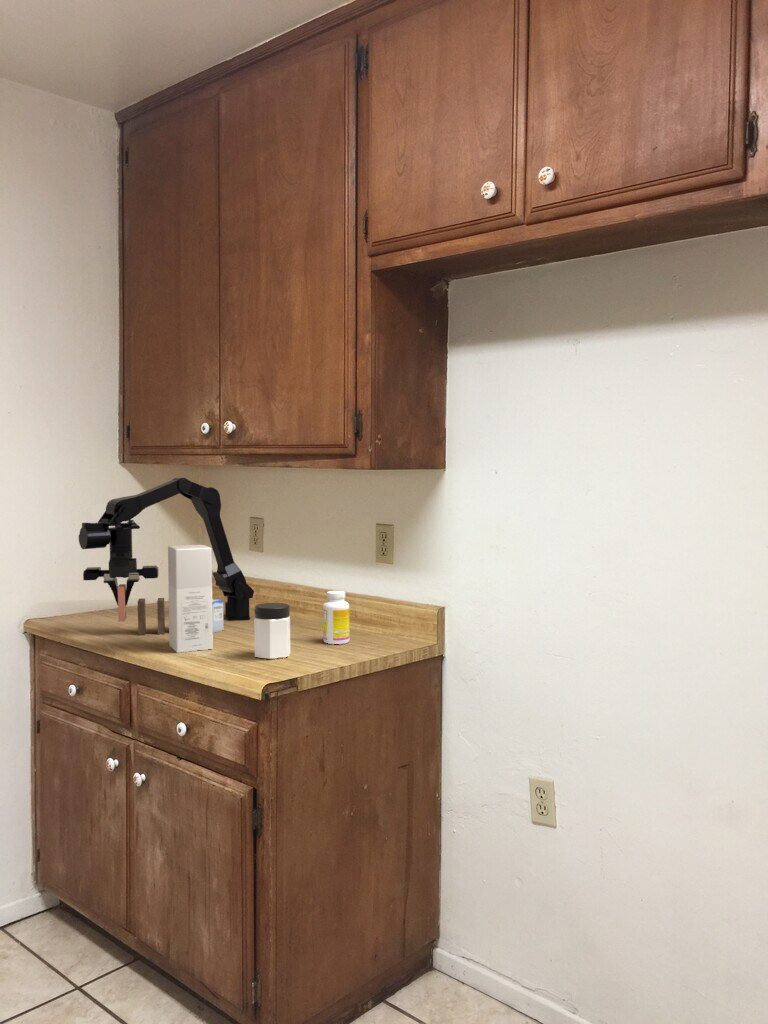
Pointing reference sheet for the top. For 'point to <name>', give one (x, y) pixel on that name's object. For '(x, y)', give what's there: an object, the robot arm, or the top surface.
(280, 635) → the jar
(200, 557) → the tall white carton
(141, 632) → the tile
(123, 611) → the tile
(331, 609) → the supplement bottle
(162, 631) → the tile
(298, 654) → the top surface
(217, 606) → the medicine box
